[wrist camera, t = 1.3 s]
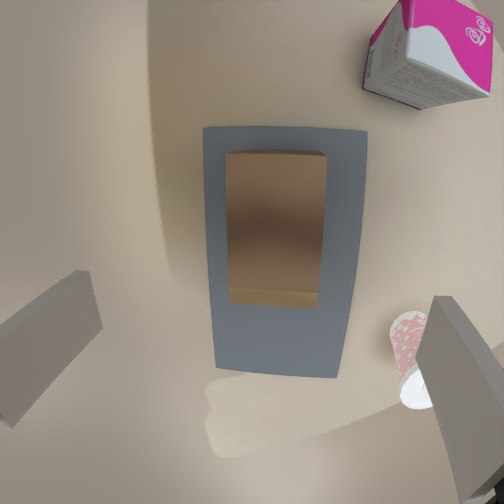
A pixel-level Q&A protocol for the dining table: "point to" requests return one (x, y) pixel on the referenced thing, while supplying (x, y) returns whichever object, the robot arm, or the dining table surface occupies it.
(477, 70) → the supplement box
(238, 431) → the dining table surface
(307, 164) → the walnut block
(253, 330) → the slate mat
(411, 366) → the beverage cup
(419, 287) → the dining table surface
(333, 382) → the dining table surface
